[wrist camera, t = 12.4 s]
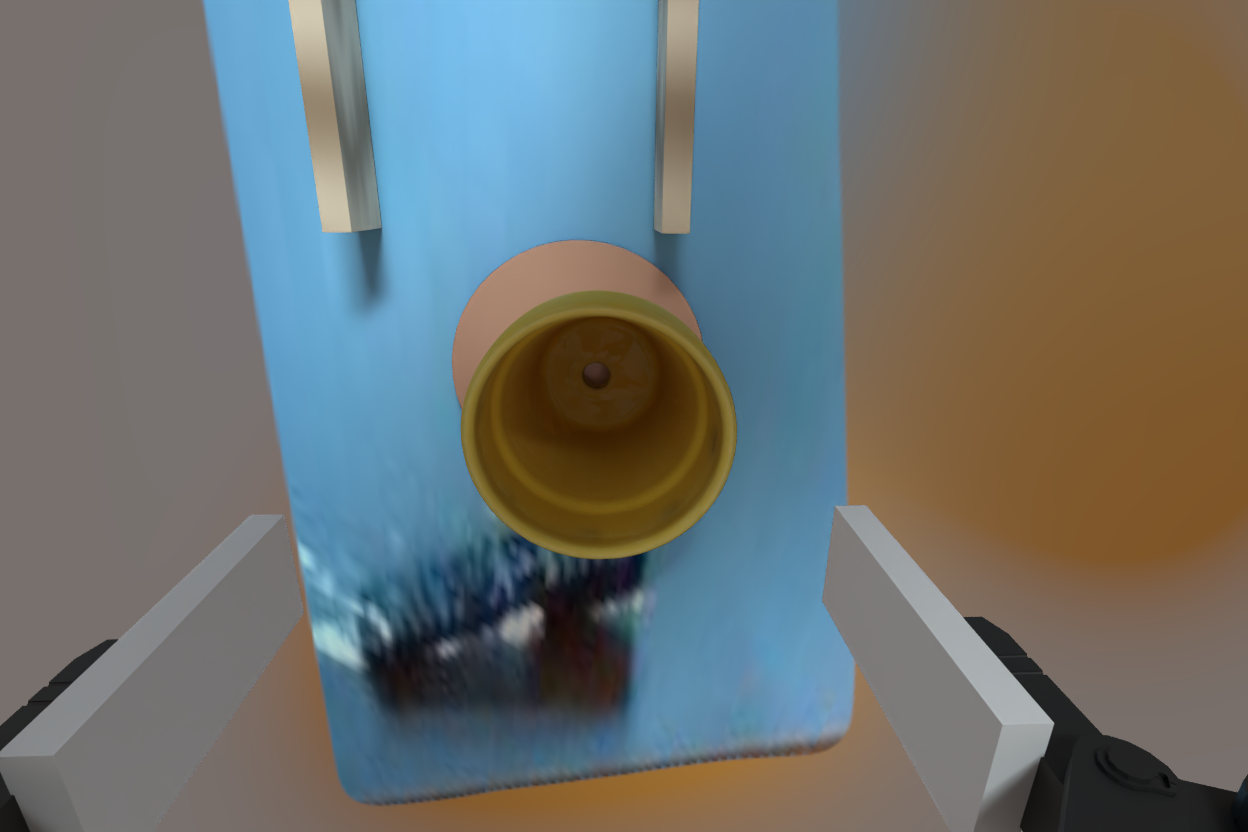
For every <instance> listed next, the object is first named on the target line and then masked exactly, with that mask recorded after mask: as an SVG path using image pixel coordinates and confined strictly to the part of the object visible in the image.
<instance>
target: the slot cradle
mask: <svg viewBox="0 0 1248 832" xmlns="http://www.w3.org/2000/svg"><path fill="white" fill-rule="evenodd" d="M289 7H290V14H291V21H292V27H293V34H294V41H295V48H296V55H297V61H298V68H299V75H300V82H301V88H302V95H303V102H304V109H305V116H306V122H307V129H308V136H309V143H310V149H311V156H312V163H313V170H314V176H315V183H316V190H317V197H318V204H319V210H320V217H321V224H322V231H323V232H357V231H364V230H371V229H378V228H382V225H381V217H380V208H379V199H378V191H377V182H376V174H375V165H374V157H373V148H372V140H371V131H370V123H369V114H368V106H367V97H366V89H365V80H364V72H363V63H362V54H361V46H360V37H359V29H358V20H357V12H356V3H355V0H289ZM698 10H699V0H658V47H657V94H656V142H655V190H654V230H656V231H658V232H660V233H662V234H690V213H691V187H692V162H693V137H694V111H695V86H696V60H697V35H698Z"/></svg>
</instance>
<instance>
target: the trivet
mask: <svg viewBox="0 0 1248 832" xmlns="http://www.w3.org/2000/svg"><path fill="white" fill-rule="evenodd" d="M591 290H604V291H614V292H620V293H626V294H630V295H633V296H637V297H640V298H643V299H645V300H648V301H650V302H653V303H655V304H657V305H659V306H661V307H662V308H664V309H666V310H667V311H669V312H670V313H672V314H673V315H675V316H676V317H677V318H679V319H680V320H681V321H682V322H683V323H685V324H686V325H687V326H688V327H689V328H690V329H691V330H692V331H693V332H694V333H695V334H696V335H697V337H698V338H699V339H700V340H701V341H702V336H701V332H700V329H699V326H698V323H697V320H696V318H695V316H694V314H693V312H692V310H691V308H690V306H689V304H688V302H687V301H686V299H685V298H684V296H683V295H682V293H681V292H680V290H679V289H678V288H677V287H676V286H675V285H674V283H673V282H672V281H671V280H670V279H669V278H668V277H667V276H666V275H665V274H664V273H663V272H662V271H660V270H659V269H658V268H657V267H656V266H655V265H653V264H652V263H650V262H649V261H647V260H646V259H644V258H642V257H641V256H639V255H638V254H635V253H633V252H631V251H629V250H627V249H624V248H622V247H619V246H615V245H612V244H609V243H605V242H599V241H593V240H563V241H555V242H551V243H547V244H543V245H539V246H536V247H534V248H531V249H529V250H526V251H524V252H522V253H520V254H518V255H516V256H515V257H513V258H511V259H509V260H508V261H506V262H505V263H504V264H502V265H501V266H500V267H499V268H497V269H496V270H495V271H493V272H492V273H491V274H490V275H489V276H488V277H487V278H486V279H485V280H484V281H483V282H482V283H481V284H480V286H479V287H478V288H477V290H476V291H475V293H474V294H473V295H472V297H471V298H470V300H469V302H468V303H467V305H466V307H465V309H464V311H463V313H462V315H461V318H460V321H459V324H458V326H457V329H456V334H455V339H454V343H453V354H452V369H453V380H454V385H455V389H456V394H457V397H458V400H459V402H460V405H461V408H463V403H464V399H465V395H466V392H467V388H468V386H469V384H470V381H471V379H472V377H473V375H474V372H475V370H476V368H477V367H478V365H479V363H480V362H481V360H482V358H483V357H484V356H485V354H486V353H487V351H488V350H489V348H490V347H491V346H492V345H493V343H494V342H495V341H496V340H497V339H498V337H499V336H500V335H501V334H502V333H503V332H504V331H505V330H506V329H507V328H508V327H509V326H510V325H511V324H512V323H513V322H515V321H516V320H517V319H518V318H520V317H521V316H522V315H523V314H525V313H526V312H528V311H529V310H531V309H532V308H534V307H536V306H538V305H539V304H541V303H544V302H546V301H548V300H550V299H553V298H555V297H558V296H561V295H565V294H569V293H573V292H579V291H591ZM702 342H703V341H702ZM584 376H585V378H586V380H587V381H588V382H589V383H591V384H593V385H601V384H603V383H605V382H606V381H607V379H608V376H609V372H608V369H607V367H606V366H605V365H603V364H600V363H592V364H589V365H588V366H587V367H586V368H585V370H584Z"/></svg>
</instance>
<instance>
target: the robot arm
mask: <svg viewBox="0 0 1248 832" xmlns="http://www.w3.org/2000/svg"><path fill="white" fill-rule="evenodd" d="M822 602H823V603H824V605H825V607H826V609H827V611H828V612H829V614H830V616H831V618H832V620H833V621H834V623H835V625H836V627H837V629H838V630H839V632H840V634H841V636H842V637H843V639H844V641H845V643H846V645H847V646H848V648H849V650H850V652H851V654H852V655H853V657H854V659H855V661H856V663H857V664H858V666H859V668H860V670H861V672H862V673H863V675H864V677H865V679H866V681H867V682H868V684H869V686H870V688H871V689H872V691H873V693H874V695H875V697H876V699H877V700H878V702H879V704H880V706H881V708H882V709H883V711H884V713H885V715H886V717H887V718H888V720H889V722H890V724H891V726H892V727H893V729H894V731H895V733H896V735H897V736H898V738H899V740H900V741H901V743H902V745H903V747H904V749H905V751H906V753H907V754H908V756H909V758H910V760H911V762H912V763H913V765H914V767H915V769H916V770H917V772H918V774H919V776H920V778H921V779H922V781H923V783H924V785H925V787H926V788H927V790H928V792H929V794H930V796H931V797H932V799H933V801H934V803H935V804H936V806H937V808H938V810H939V812H940V814H941V815H942V817H943V819H944V821H945V822H946V824H947V826H948V828H949V830H950V831H951V832H1021V829H1022V831H1023V832H1248V775H1247V776H1246V778H1245V779H1244V781H1243V783H1242V785H1241V787H1240V789H1239V791H1238V793H1237V792H1233V791H1228V790H1224V789H1219V788H1215V787H1211V786H1206V785H1202V784H1197V783H1193V782H1188V781H1183V780H1180V779H1178V778H1177V776H1176V775H1175V774H1174V773H1173V772H1172V771H1171V769H1170V768H1169V767H1168V766H1167V765H1165V764H1164V763H1163V762H1161V761H1160V760H1159V759H1157V758H1156V757H1155V756H1153V755H1152V754H1151V753H1149V752H1147V751H1145V750H1143V749H1141V748H1139V747H1138V746H1136V745H1134V744H1132V743H1130V742H1127V741H1124V740H1121V739H1118V738H1114V737H1111V736H1108V735H1102V734H1101V733H1100V732H1099V730H1098V729H1097V728H1096V727H1095V726H1094V725H1093V724H1092V723H1091V722H1090V721H1089V720H1088V719H1087V718H1086V716H1084V714H1083V713H1082V712H1081V711H1080V710H1079V709H1078V708H1077V707H1076V706H1075V705H1074V704H1073V703H1072V702H1071V700H1070V699H1069V698H1068V697H1067V696H1066V695H1065V694H1064V693H1063V692H1062V691H1061V690H1060V689H1059V688H1058V687H1057V686H1056V684H1055V683H1054V682H1053V681H1052V680H1051V679H1050V678H1049V677H1048V676H1047V675H1043V672H1042V670H1041V668H1039V666H1038V665H1037V664H1036V663H1035V662H1034V661H1033V660H1032V659H1031V658H1028V657H1027V653H1026V652H1024V650H1023V649H1022V648H1021V647H1020V646H1019V645H1018V644H1017V643H1016V642H1015V641H1014V640H1013V639H1012V637H1011V636H1010V635H1009V634H1008V633H1006V632H1004V631H1003V630H1001V629H1000V628H998V627H997V626H995V625H994V624H992V623H991V622H989V621H988V620H986V619H985V618H983V617H962V616H961V615H960V614H959V613H958V611H957V610H956V609H955V608H954V607H953V606H952V604H951V603H950V602H949V601H948V600H947V599H946V597H945V596H944V595H943V594H942V593H941V592H940V591H939V589H938V588H937V587H936V586H935V585H934V584H933V582H932V581H931V580H930V579H929V578H928V577H927V575H926V574H925V573H924V572H923V571H922V570H921V569H920V567H919V566H918V565H917V564H916V563H915V562H914V561H913V559H912V558H911V557H910V556H909V555H908V554H907V552H906V551H905V550H904V549H903V548H902V547H901V545H900V544H899V543H898V542H897V541H896V540H895V539H894V537H893V536H892V535H891V534H890V533H889V532H888V530H887V529H886V528H885V527H884V526H883V525H882V523H881V522H880V521H879V520H878V519H877V518H876V516H875V515H874V514H873V513H872V512H871V511H870V510H869V508H868V507H867V506H865V505H858V506H835V510H834V517H833V524H832V532H831V539H830V546H829V554H828V561H827V568H826V576H825V583H824V590H823V598H822ZM303 613H304V611H303V605H302V600H301V595H300V590H299V585H298V580H297V576H296V571H295V566H294V561H293V556H292V551H291V546H290V541H289V536H288V531H287V526H286V521H285V516H284V515H250V516H249V517H248V518H247V519H246V520H245V521H244V522H243V523H242V524H241V525H240V526H239V527H238V528H237V529H235V531H233V532H232V533H231V534H230V535H229V536H228V537H227V538H226V539H225V540H224V541H223V542H222V543H221V544H220V545H219V546H217V547H216V548H215V549H214V550H213V551H212V552H211V553H210V554H209V555H208V556H207V557H206V558H205V559H204V560H203V561H201V562H200V563H199V564H198V565H197V566H196V567H195V568H194V569H193V570H192V571H191V572H190V573H189V574H188V575H187V576H186V577H184V579H182V581H180V582H179V583H178V584H177V585H176V586H175V587H174V588H173V589H172V590H171V591H170V592H169V593H168V594H166V595H165V596H164V597H163V598H162V599H161V600H160V601H159V602H158V603H157V604H156V605H155V606H154V607H153V608H152V609H151V610H149V611H148V612H147V613H146V614H145V615H144V616H143V617H142V618H141V619H140V620H139V621H138V622H137V623H136V624H135V625H134V626H133V627H131V628H130V629H129V630H128V631H127V632H126V633H125V634H124V635H123V636H122V637H121V638H120V639H118V640H117V639H116V640H114V639H113V640H106V641H104V642H103V643H101V644H99V645H98V646H96V647H94V648H93V649H91V650H89V651H88V652H86V653H84V654H82V655H81V656H79V657H77V658H76V659H74V660H73V661H72V662H71V663H70V664H69V665H68V666H66V667H65V668H64V669H63V670H62V671H61V672H60V673H59V674H58V675H57V676H55V677H54V678H53V679H52V680H51V681H50V682H49V685H48V687H43V688H42V689H41V690H40V691H39V692H38V693H37V694H35V695H34V696H33V697H32V698H31V699H30V700H29V701H28V704H27V706H22V707H21V708H20V709H19V710H18V711H16V712H15V713H14V714H13V715H12V716H11V717H10V718H9V719H8V720H7V721H6V722H4V723H3V724H2V725H1V726H0V832H153V831H154V829H155V828H156V827H157V825H158V824H159V822H160V821H161V819H162V818H163V816H164V815H165V814H166V812H167V811H168V809H169V808H170V806H171V805H172V803H173V802H174V800H175V799H176V797H177V796H178V795H179V793H180V792H181V790H182V789H183V787H184V786H185V784H186V783H187V782H188V780H189V779H190V777H191V776H192V774H193V773H194V771H195V770H196V768H197V767H198V765H199V764H200V763H201V761H202V760H203V758H204V757H205V755H206V754H207V753H208V751H209V750H210V748H211V747H212V745H213V744H214V742H215V741H216V739H217V738H218V737H219V735H220V734H221V732H222V731H223V729H224V728H225V726H226V725H227V724H228V722H229V721H230V719H231V718H232V716H233V715H234V713H235V712H236V710H237V709H238V708H239V706H240V705H241V703H242V702H243V700H244V699H245V697H246V696H247V694H248V693H249V692H250V690H251V689H252V687H253V686H254V684H255V682H256V681H257V680H258V679H259V677H260V676H261V674H262V673H263V671H264V670H265V668H266V667H267V665H268V664H269V662H270V661H271V660H272V658H273V657H274V655H275V654H276V652H277V651H278V649H279V648H280V647H281V645H282V644H283V642H284V641H285V639H286V638H287V636H288V635H289V633H290V632H291V631H292V629H293V628H294V626H295V625H296V623H297V622H298V620H299V619H300V617H301V616H302V615H303Z"/></svg>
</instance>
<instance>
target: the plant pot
mask: <svg viewBox="0 0 1248 832" xmlns="http://www.w3.org/2000/svg"><path fill="white" fill-rule="evenodd" d="M592 363H600V364H603V365H605V366H606V367H607V369H608V372H609V376H608V379H607V381H606V382H605V383H603V384H601V385H593V384H591V383H589V382H588V381H587V380H586V378H585V376H584V370H585V368H586V367H587V366H588V365H589V364H592ZM461 440H462V448H463V453H464V457H465V462H466V465H467V468H468V471H469V473H470V476H471V478H472V481H473V483H474V485H475V486H476V488H477V490H478V492H479V494H480V495H481V497H482V498H483V500H484V501H485V502H486V504H487V505H488V506H489V508H490V509H491V510H492V511H493V512H494V513H495V515H496V516H497V517H498V518H499V519H500V520H501V521H502V522H504V523H505V524H506V525H507V526H508V527H509V528H511V529H512V530H513V531H515V532H516V533H518V534H519V535H520V536H522V537H524V538H525V539H527V540H528V541H530V542H532V543H534V544H536V545H538V546H540V547H542V548H545V549H547V550H550V551H553V552H556V553H559V554H563V555H568V556H572V557H578V558H585V559H614V558H622V557H628V556H633V555H637V554H641V553H644V552H647V551H650V550H653V549H655V548H658V547H660V546H662V545H664V544H666V543H668V542H670V541H672V540H673V539H675V538H677V537H678V536H680V535H681V534H683V533H684V532H685V531H687V530H688V529H689V528H691V527H692V526H693V525H694V524H695V523H696V522H698V521H699V520H700V518H701V517H702V516H703V515H704V514H705V513H706V512H707V511H708V510H709V508H710V507H711V506H712V504H713V503H714V501H715V500H716V499H717V497H718V496H719V494H720V492H721V490H722V489H723V487H724V484H725V482H726V480H727V478H728V475H729V472H730V470H731V467H732V463H733V459H734V455H735V449H736V442H737V422H736V413H735V407H734V403H733V399H732V395H731V392H730V389H729V387H728V384H727V382H726V380H725V378H724V375H723V373H722V371H721V370H720V368H719V366H718V364H717V363H716V361H715V359H714V358H713V356H712V355H711V353H710V351H709V350H708V349H707V348H706V346H705V345H704V344H703V342H702V341H701V340H700V339H699V338H698V337H697V335H696V334H695V333H694V332H693V331H692V330H691V329H690V328H689V327H688V326H687V325H686V324H685V323H683V322H682V321H681V320H680V319H679V318H677V317H676V316H675V315H673V314H672V313H670V312H669V311H667V310H666V309H664V308H662V307H661V306H659V305H657V304H655V303H653V302H650V301H648V300H645V299H643V298H640V297H637V296H633V295H630V294H626V293H620V292H614V291H604V290H591V291H579V292H573V293H569V294H565V295H561V296H558V297H555V298H553V299H550V300H548V301H546V302H544V303H541V304H539V305H538V306H536V307H534V308H532V309H531V310H529V311H528V312H526V313H525V314H523V315H522V316H521V317H520V318H518V319H517V320H516V321H515V322H513V323H512V324H511V325H510V326H509V327H508V328H507V329H506V330H505V331H504V332H503V333H502V334H501V335H500V336H499V337H498V339H497V340H496V341H495V342H494V343H493V345H492V346H491V347H490V348H489V350H488V351H487V353H486V354H485V356H484V357H483V358H482V360H481V362H480V363H479V365H478V367H477V368H476V370H475V372H474V375H473V377H472V379H471V381H470V384H469V386H468V388H467V392H466V395H465V399H464V403H463V408H462V416H461Z"/></svg>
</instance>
